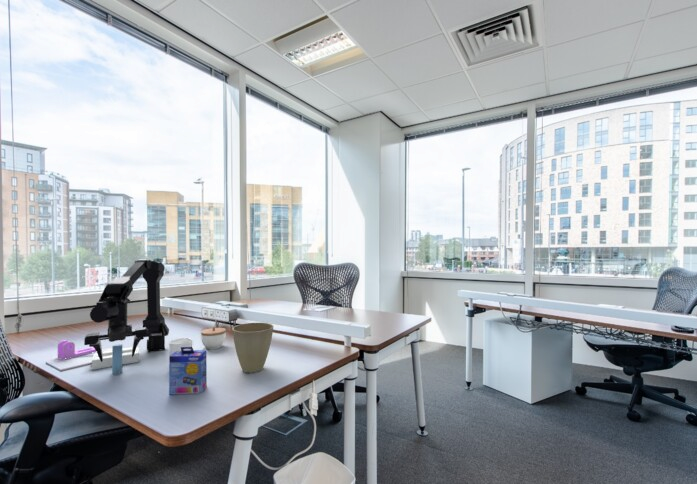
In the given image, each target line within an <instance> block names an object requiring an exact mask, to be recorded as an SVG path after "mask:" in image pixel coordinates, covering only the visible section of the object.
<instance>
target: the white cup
mask: <svg viewBox="0 0 697 484" xmlns="http://www.w3.org/2000/svg"><path fill="white" fill-rule="evenodd" d="M168 345H169V356H170V355H172V354H173V353H174V352H176V351H181V347H192V348H193V339H192V338H190V337H189V338H188V337H183V338H176V339H175V338H174V339H173V340H170V341H168ZM183 350H191V349H183Z"/></svg>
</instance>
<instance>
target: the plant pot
mask: <svg viewBox="0 0 697 484" xmlns="http://www.w3.org/2000/svg"><path fill="white" fill-rule="evenodd" d="M273 331H274V324H272V323H267V322H248V323H247V322H245V323H241V324H238V325H235V326H233V327H232V337H233V343H234V348H235V352H236V355H237V359H238V362H239V365H240V367H241V370H242V372H243V371H244V372H243V373H246V372H249V373H248V374H253V373H252V372H255V373H258V372H257V371H259V372H261V371H263V370H264V367H265V364H266V361H267V358H268V354H269V351H270V348H271V344H272V343H271V342H272V339H273ZM260 370H261V371H260Z"/></svg>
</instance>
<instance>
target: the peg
mask: <svg viewBox="0 0 697 484" xmlns="http://www.w3.org/2000/svg"><path fill="white" fill-rule="evenodd" d="M122 349H123V344H120V343H119V344H114V345H112V349H111V350H112V366H111V367H112V369H111V371H112V372H111V374H112V375H120V374H122V373H123V365H122Z"/></svg>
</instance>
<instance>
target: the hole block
mask: <svg viewBox="0 0 697 484" xmlns="http://www.w3.org/2000/svg"><path fill="white" fill-rule="evenodd" d="M139 347H140V346H139V345H137V348H136V350H135V353H134V356H133V357H132V348H133V346H132V347H131V346H130V347H124V348H122V366H123V365H128V364H134V363H138V362H140V348H139ZM102 355H103V361H102V362H101V360H100V358H99V356H98V353H97V352H94V353H93V356H92V359H91V371H92V370H99V369H104V368H110V367H112V349H111V350H105V351H103V350H102Z"/></svg>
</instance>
